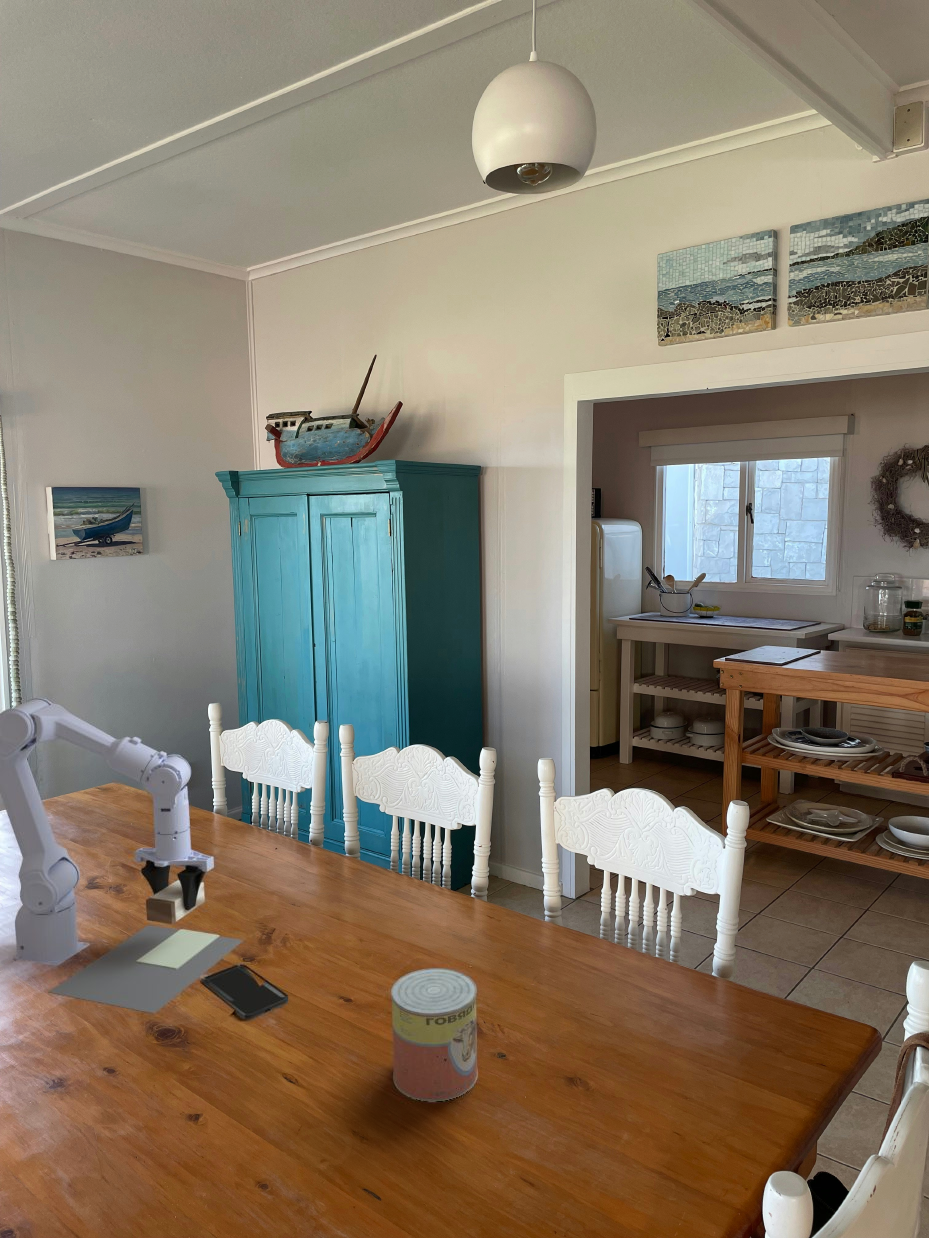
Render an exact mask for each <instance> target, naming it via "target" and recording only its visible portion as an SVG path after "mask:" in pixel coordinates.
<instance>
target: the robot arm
mask: <svg viewBox="0 0 929 1238" xmlns="http://www.w3.org/2000/svg"><path fill="white" fill-rule="evenodd" d="M58 739H59V740H60V739H61V740H63V741H66V742H69V743H70V744H73V745H75V746H77V747H80V748H82V749H85V750H87V751H89V752H92V753H94V754H97V755H99V756H101V757H104V758H105V759H106V763H107V765H108V767H109V768H110V769H112V770H114V771H115V772H116V771H117V772H118V773H119V774H122V775H125V776H126V777H128V778H131V779H133V780H135V781H136V782H139V783H140V784H143V785H145V787H146V790H147V791H148V793H149V794H150V795H151V796H152V811H153V813H152V814H153V827H154V831H153V832H154V846H155V847H140V848H138V849H137V850H135V851H134V859H135V863H138V864H139V863H143V862H144V863H145V866H144V867H142V868H141V870H140V871H141V875H142V876H143V877H144V878H145V880H146V881H147V882H148V884H149V887H150V889H151V891H152V893H153V895H155V894H157V893H158V892H160V891H161V890H163V889H165V888H166V887H168V886H169V885H170V884H169V879H170V870H171V866H175V867H176V866H177V867H182V868H183V867H184V868H185V869H183V870H181V871H179V872H178V873H177V874H176V876H177V878H178V880H179V881H180V884H181V887H182V891H183V901H184V907H185V910H190V909H192V908H193V907H195V906H196V900H197V895H198V891H199V887H200V884H201V882H203V879H204V876H205V875H206V873H207V872H209V871H210V870H212V869H214V868H215V864H214V863H215V862H214V861H215V860H214V856H212V855H206V854H204V853H202V852H199V851H196V850H193V849H192V843H191V839H192V838H191V823H190V805H189V804H190V803H189V795H188V793H189V792H188V785H187V783H188V782H189V781H190V778H191V776H192V769H191V765H190V764H189V762H188V761H187V760H186V759H185V758H183V757H182V756H181V755H180V754H168V755H167V752H164V751H163V750H161V751H158V750H156V749H154V748H152V747H150V746H148V745H145V744H143V743H141V742H142V739H141V738H140V737H137V736H134V737H133V738H131V737H129V736H125V737H122V738H119V739H117V738H115V737H113V736H111V735H109V734H108V733H106V732H105V731H103V730H101V729H99V728H98V727H95V726H93V725H92V724H90V723H89V722H86V721H85V720H83V719H81V718H79V717H77V716H76V715H74V714H72V713H71V712H69V711H67V709H65V708H64V707H63V706H62V705H61V704H57V703H53V702H52V701H50V700H48V699H46V698H44V697H32V698H30V699H29V700H27V701H25V702H23V703H21V704H19V705H16V706H14V707H12V708H7V709H5V710H3V711H2V712H0V797H1V799H2V803H3V805H4V808H5V811H6V814H7V817H8V819H9V822H10V824H11V828H12V831H13V833H14V834H13V835H14V837H15V840H16V843H17V845H18V848H19V851H20V853H21V856H22V860H21V865H20V869H19V871H18V880H19V882H20V891H19V898H20V902H21V904H22V905H21V906H20V907H19V909H18V911H17V913H16V916H15V919H14V928H15V930H14V931H15V942H16V943H15V944H16V945H15V946H16V954H15V955H14V956H13V957H12V958H13V960H14V961H18V960H23V961H28V962H32V963H33V962H34V963H39V964H44V965H48V966H49V965H50V966H59V965H60V964H61V965H62V963H64V962H65V961H67V960H68V959H70V958H71V957H73V956H74V955H76V954H78V953H79V952H81V951H82V950H84V949H86V948H87V947H88V946H90V943H89V942H85V941H84V942H82V941H79V937H78V923H77V908H76V907H77V906H76V905H77V904H76V896H75V888H76V887H77V885H78V884H79V882H80V879H81V872H80V868H79V867H78V865H77V863H76V862H74V860H72V859H71V857H70V855H69V852H68V851H67V849H66V848H65V847H64V846H61V845H59V844H58V843H57V841H56V839H55V836H54V833H53V830H52V827H51V825H50V822H49V818H48V817H47V813H46V810H45V807H44V804H43V801H42V798H41V796H40V792H39V789H38V787H37V784H36V781H35V778H34V776H33V773H32V771H31V770H32V769H31V768H30V763H29V761H28V758H29V756H30V754H31V752H32V751H33V749H34V748H35V747H36V745H37V743H41V742H42V743H43V742H47V741H54V740H58Z"/></svg>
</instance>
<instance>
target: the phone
mask: <svg viewBox="0 0 929 1238" xmlns="http://www.w3.org/2000/svg"><path fill="white" fill-rule="evenodd" d="M250 971H251V972H252V973H253V974H255V975H256V976H258V977H259V978H261V979H262V980H263V981H264V982H263V983H262V984H261V985H260V984H259V983H258V981H257V980H256V978H255V977H254V976H253V974H252V973H251V972H250ZM200 982H201V984H202V985H204V987H206V988H208V989H209V990H210V991H211V992H212V993H214V994H215V995H216V996H218V998H220V999H221V1000H222V1001H223V1002H225V1003H226V1004H227V1005H229V1006H230V1007H231V1008H233V1009H234V1010H232V1011H233V1013H234V1014H235V1015H236V1016H238V1017H239V1018H241V1019H242V1020H244V1021H250V1020H254V1019H256V1018H258V1017H261V1016H263V1015H265V1014H267V1013H270V1012H272V1011H274V1010H276V1009H278V1008H281V1007H283V1006H285V1005H287V1004H288V1003H289V995H288V994H287V993H286V992H284V991H283V990H282V989H280V988H279V987H277V986H276V985H274V984H273V983H272V982H270V981H268V980H267V979H266V978H265V977H263V976H262V975H260V974H259V973H257V971H254V970H253V968H250V967H249V966H248V965H247V964H244V963H239V964H235V965H232V966H230V967H227V968H225V969H222V970H219V971H217V972H215V973H212V974H210V975H207V976H205V977H203V978H202V979H201V980H200Z"/></svg>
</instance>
